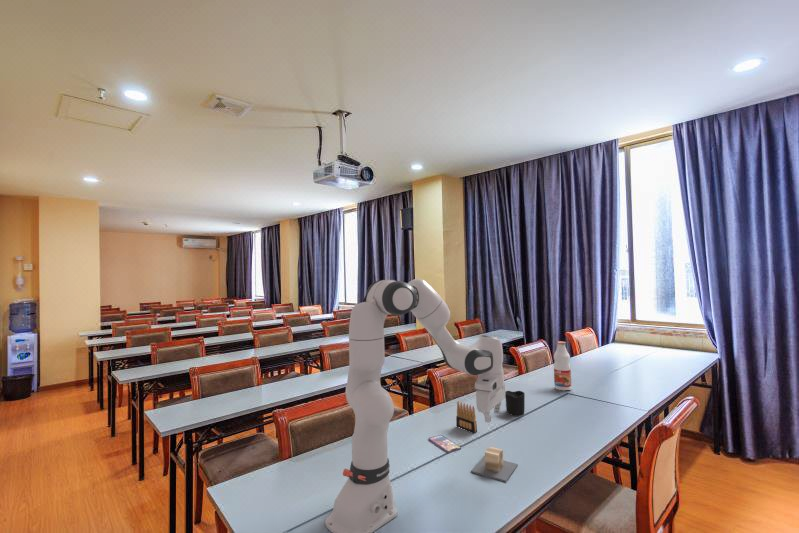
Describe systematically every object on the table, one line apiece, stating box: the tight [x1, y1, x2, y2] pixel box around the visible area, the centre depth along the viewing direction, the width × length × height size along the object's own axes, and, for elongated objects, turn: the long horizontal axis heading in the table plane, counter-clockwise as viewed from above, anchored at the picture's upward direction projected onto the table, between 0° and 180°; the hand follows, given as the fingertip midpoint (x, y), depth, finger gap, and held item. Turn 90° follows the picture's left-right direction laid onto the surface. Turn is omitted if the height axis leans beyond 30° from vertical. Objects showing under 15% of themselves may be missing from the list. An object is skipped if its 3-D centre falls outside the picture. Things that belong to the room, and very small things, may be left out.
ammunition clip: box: [455, 400, 478, 434], centre depth 175 cm, size 11×2×12 cm, turn 41°
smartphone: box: [428, 434, 462, 454], centre depth 161 cm, size 1×7×15 cm
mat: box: [470, 455, 519, 483], centre depth 140 cm, size 13×13×1 cm
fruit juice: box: [553, 340, 573, 391], centre depth 229 cm, size 9×9×28 cm
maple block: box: [484, 446, 504, 472], centre depth 140 cm, size 5×5×6 cm
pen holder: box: [504, 390, 526, 416], centre depth 194 cm, size 9×9×10 cm
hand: (492, 417), depth 140 cm, fingers open, 8 cm apart
